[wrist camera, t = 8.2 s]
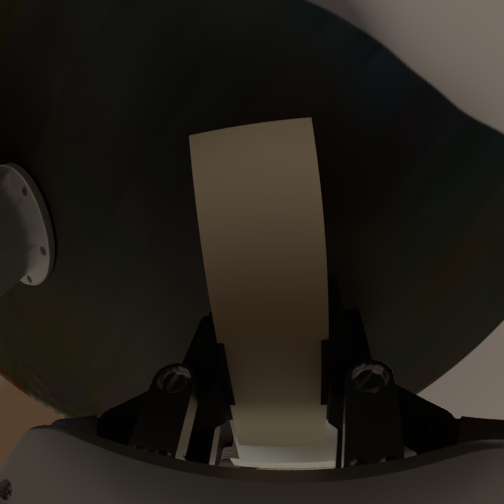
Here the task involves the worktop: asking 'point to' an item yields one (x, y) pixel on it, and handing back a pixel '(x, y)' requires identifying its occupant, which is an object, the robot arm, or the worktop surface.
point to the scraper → (267, 282)
